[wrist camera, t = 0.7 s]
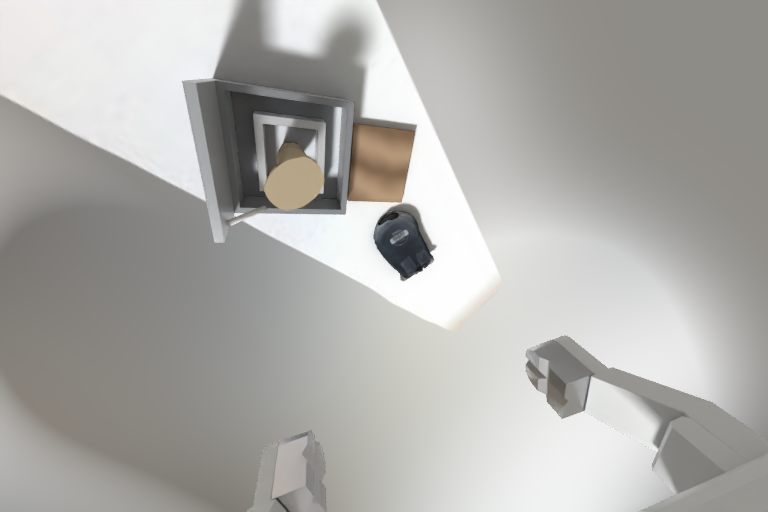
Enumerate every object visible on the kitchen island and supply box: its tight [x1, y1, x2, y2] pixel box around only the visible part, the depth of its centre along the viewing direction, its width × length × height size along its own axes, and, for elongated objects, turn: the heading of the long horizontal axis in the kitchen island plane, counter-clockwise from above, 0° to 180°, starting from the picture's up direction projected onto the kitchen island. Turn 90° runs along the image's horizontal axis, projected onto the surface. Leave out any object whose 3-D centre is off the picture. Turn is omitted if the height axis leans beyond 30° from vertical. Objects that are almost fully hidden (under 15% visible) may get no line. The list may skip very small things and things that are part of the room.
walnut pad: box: [347, 123, 415, 202], centre depth 45 cm, size 12×10×1 cm
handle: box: [264, 142, 325, 211], centre depth 35 cm, size 5×6×15 cm
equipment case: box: [182, 78, 355, 243], centre depth 35 cm, size 16×17×13 cm
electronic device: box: [374, 211, 434, 281], centre depth 55 cm, size 9×6×15 cm
